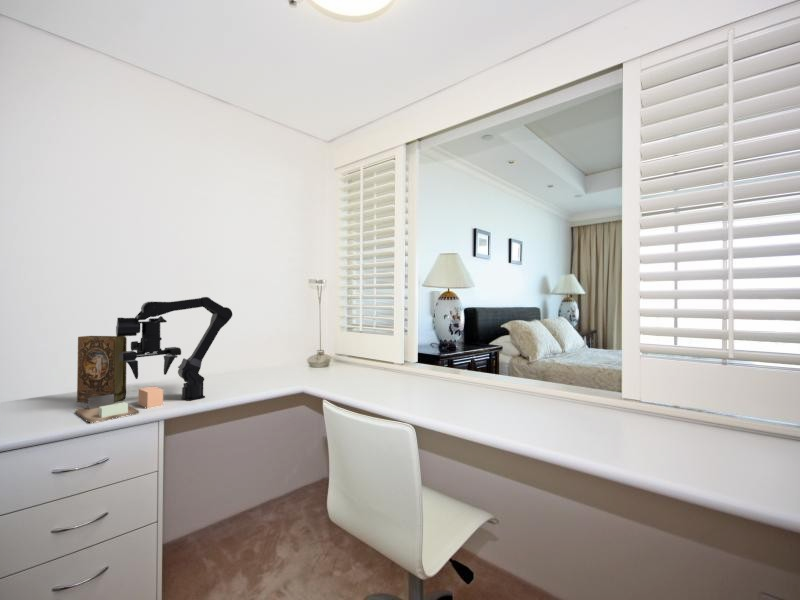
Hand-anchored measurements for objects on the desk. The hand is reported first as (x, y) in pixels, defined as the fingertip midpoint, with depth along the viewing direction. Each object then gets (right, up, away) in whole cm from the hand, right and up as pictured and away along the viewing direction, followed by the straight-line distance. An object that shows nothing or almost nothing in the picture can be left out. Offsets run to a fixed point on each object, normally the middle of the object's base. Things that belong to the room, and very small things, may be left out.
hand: (151, 376), depth 134 cm
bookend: (-14, -9, -6) cm, 18 cm away
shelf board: (-8, -10, -10) cm, 17 cm away
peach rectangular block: (0, -11, 0) cm, 11 cm away
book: (-22, -11, +4) cm, 25 cm away
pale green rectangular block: (-2, -10, -15) cm, 18 cm away
